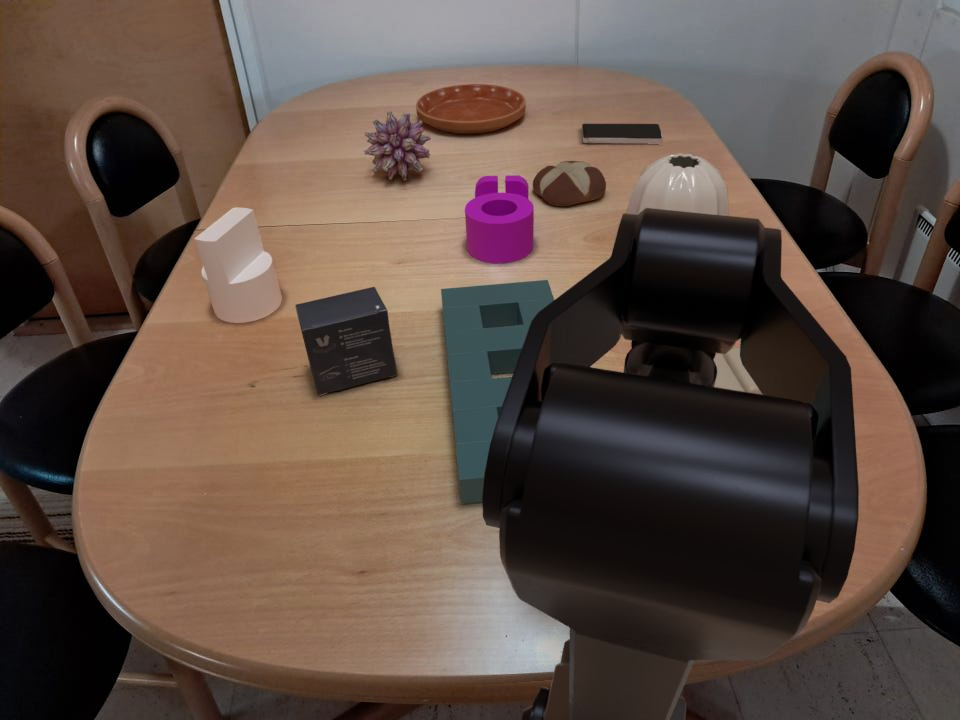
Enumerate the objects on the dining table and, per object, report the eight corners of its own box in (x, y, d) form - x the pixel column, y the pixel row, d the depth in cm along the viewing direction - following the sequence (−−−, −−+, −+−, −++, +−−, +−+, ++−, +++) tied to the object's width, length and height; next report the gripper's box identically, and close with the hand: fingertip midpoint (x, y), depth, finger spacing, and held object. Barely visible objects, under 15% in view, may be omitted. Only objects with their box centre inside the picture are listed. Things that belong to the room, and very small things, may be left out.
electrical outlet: (658, 353, 75) (818, 338, 76) (653, 381, 78) (808, 366, 79) (679, 396, 70) (851, 379, 71) (674, 425, 72) (840, 409, 73)
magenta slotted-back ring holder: (533, 263, 99) (533, 223, 95) (464, 263, 100) (462, 224, 96) (533, 211, 112) (533, 175, 108) (472, 212, 112) (470, 175, 108)
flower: (441, 178, 127) (412, 192, 117) (383, 167, 130) (350, 180, 120) (444, 112, 121) (414, 121, 112) (384, 103, 125) (349, 111, 115)
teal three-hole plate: (605, 489, 66) (608, 464, 64) (461, 504, 65) (459, 479, 63) (547, 302, 91) (547, 279, 89) (442, 311, 91) (440, 288, 88)
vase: (642, 219, 108) (652, 135, 100) (732, 239, 102) (750, 151, 94) (607, 259, 99) (615, 170, 91) (704, 283, 93) (722, 190, 85)
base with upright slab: (260, 327, 89) (236, 245, 82) (200, 317, 92) (171, 237, 84) (294, 290, 96) (274, 211, 88) (238, 282, 98) (214, 204, 91)
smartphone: (663, 138, 131) (583, 138, 132) (662, 144, 132) (583, 144, 133) (658, 123, 137) (582, 123, 138) (657, 129, 138) (581, 129, 139)
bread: (614, 200, 114) (617, 171, 111) (551, 213, 111) (551, 184, 108) (583, 174, 122) (585, 147, 119) (524, 186, 119) (524, 158, 116)
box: (386, 350, 84) (376, 284, 79) (398, 377, 80) (388, 309, 74) (310, 369, 82) (293, 302, 76) (318, 397, 78) (301, 329, 72)
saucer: (547, 113, 147) (547, 95, 144) (476, 147, 134) (475, 128, 131) (467, 94, 159) (466, 77, 157) (395, 123, 146) (393, 105, 144)
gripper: (748, 335, 53) (713, 472, 63) (508, 357, 52) (511, 493, 62) (817, 437, 45) (764, 578, 54) (531, 465, 44) (529, 603, 54)
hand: (637, 557), depth 56 cm, fingers open, 9 cm apart
